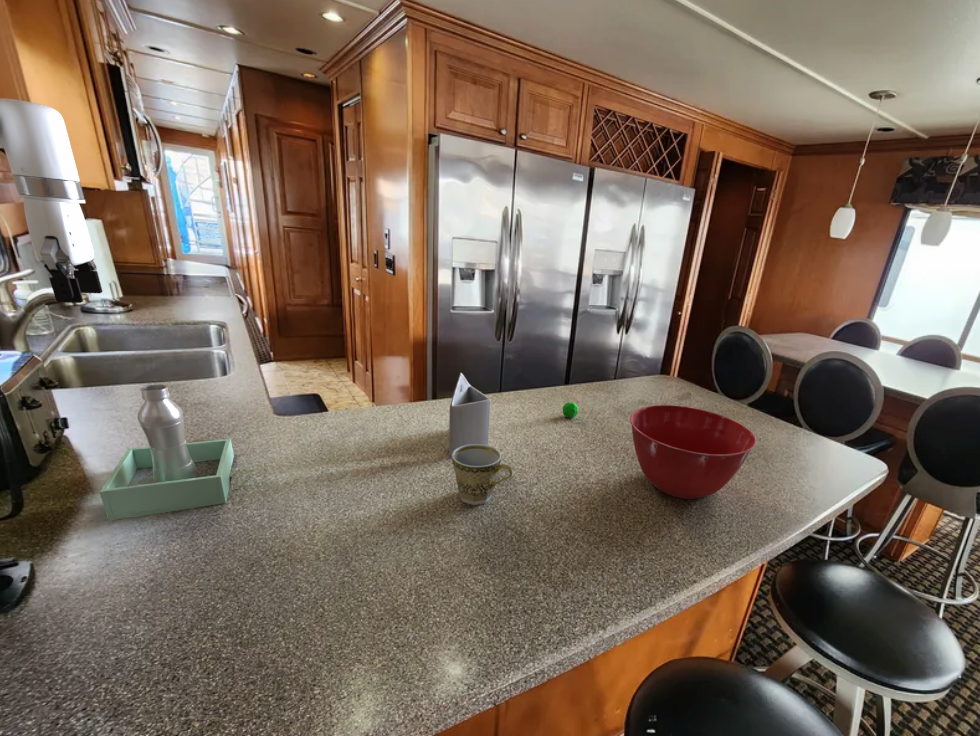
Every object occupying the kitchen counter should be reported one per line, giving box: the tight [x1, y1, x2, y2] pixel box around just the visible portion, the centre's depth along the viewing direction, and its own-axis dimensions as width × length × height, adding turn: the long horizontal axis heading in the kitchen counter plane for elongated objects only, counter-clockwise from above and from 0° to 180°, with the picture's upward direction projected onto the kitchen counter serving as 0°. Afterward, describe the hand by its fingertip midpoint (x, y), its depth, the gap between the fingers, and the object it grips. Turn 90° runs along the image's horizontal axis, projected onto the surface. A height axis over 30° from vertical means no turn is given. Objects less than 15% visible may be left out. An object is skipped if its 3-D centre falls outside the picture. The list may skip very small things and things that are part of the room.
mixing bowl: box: [629, 404, 757, 500], centre depth 108 cm, size 28×28×16 cm
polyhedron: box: [562, 401, 579, 419], centre depth 143 cm, size 5×5×5 cm
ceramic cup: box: [451, 444, 513, 506], centre depth 95 cm, size 13×10×10 cm
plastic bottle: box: [137, 383, 197, 483], centre depth 85 cm, size 6×7×20 cm
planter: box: [448, 372, 492, 459], centre depth 115 cm, size 16×8×19 cm, turn 175°
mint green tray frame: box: [99, 438, 235, 522], centre depth 88 cm, size 17×17×6 cm
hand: (81, 297), depth 81 cm, fingers open, 9 cm apart
